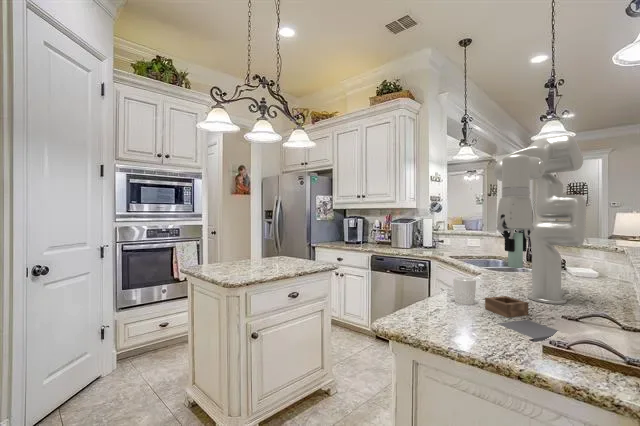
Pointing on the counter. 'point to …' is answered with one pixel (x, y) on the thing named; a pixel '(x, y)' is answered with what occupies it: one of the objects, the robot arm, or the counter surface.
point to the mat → (530, 329)
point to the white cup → (464, 290)
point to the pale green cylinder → (516, 252)
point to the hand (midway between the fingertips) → (515, 250)
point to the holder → (506, 306)
